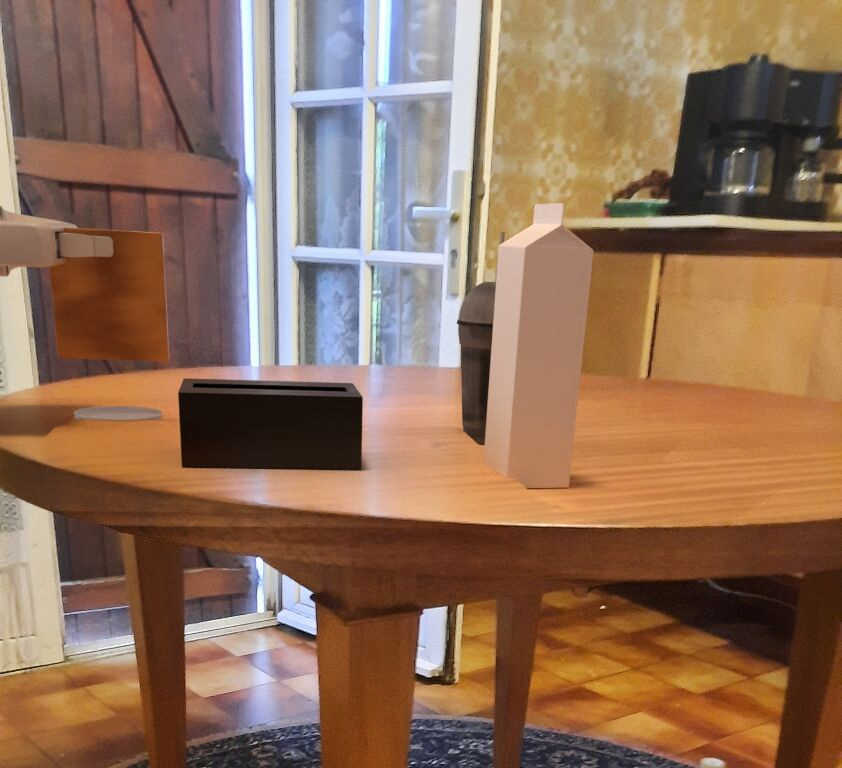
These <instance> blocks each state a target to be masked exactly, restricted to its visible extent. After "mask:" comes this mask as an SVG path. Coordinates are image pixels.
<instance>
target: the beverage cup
mask: <svg viewBox="0 0 842 768" xmlns="http://www.w3.org/2000/svg"><path fill="white" fill-rule="evenodd" d="M505 236H506V232H504V231H500V232H499V240H498V246H499V245H500V244H502V243H504V242H505ZM497 262H498V257H497V259H496V263H497ZM495 268H496V269H495V277H494V281H483V282H481V283H479V284H477V285H475V286H474V287H473V288H472V289H470V290H469V291H468V293H467V295H465V297H464V299H463V300H462V303H461V306H460V309H459V312H458V318H457V321H456V325H458V328H457V335H458V342H459V345H460V371H461V372H460V374H461V376H460V378H461V380H460V381H461V423H462V424H461V425H462V431H463V432H464V433H465V434H466V435H467V436H468V437H469V438H471V439H472V440H473V441H474V442H475V443H476V444H477V445H484V446H485V434H486V419H487V405H488V391H489V377H490V362H491V348H492V334H493V320H494V305H495V291H496V277H497V266H496V267H495Z"/></svg>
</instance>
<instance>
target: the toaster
mask: <svg viewBox="0 0 842 768" xmlns="http://www.w3.org/2000/svg"><path fill="white" fill-rule="evenodd" d="M177 396H178V399H177V400H178V417H179V420H178V421H179V439H180V457H181V469H222V470H223V469H224V470H225V469H227V470H228V469H230V470H231V469H232V470H283V471H284V470H287V471H288V470H291V471H347V472H348V471H349V472H350V471H352V472H354V471H355V472H356V471H357V472H362V454H363V411H364V410H363V407H364V397H363V395H362V394H361V393H360V392H359V390H358V389H357V387H356V385H355V384H354V383H353V382H331V381H329V382H326V381H293V380H292V381H291V380H262V379H261V380H256V379H255V380H254V379H223V378H221V379H219V378H188V377H187V378H185V377H184V378H183V379H182V382H181V385H180V386H179V390H178V392H177Z"/></svg>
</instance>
